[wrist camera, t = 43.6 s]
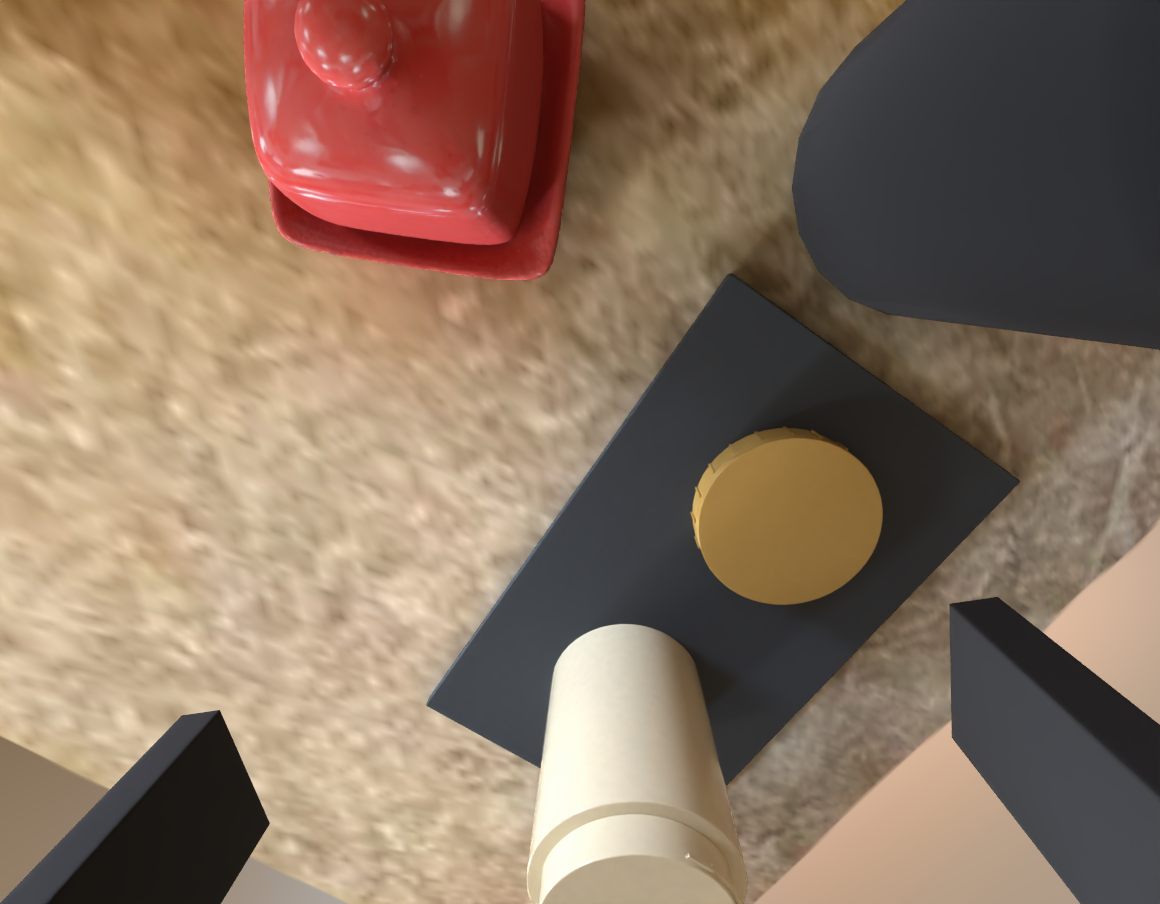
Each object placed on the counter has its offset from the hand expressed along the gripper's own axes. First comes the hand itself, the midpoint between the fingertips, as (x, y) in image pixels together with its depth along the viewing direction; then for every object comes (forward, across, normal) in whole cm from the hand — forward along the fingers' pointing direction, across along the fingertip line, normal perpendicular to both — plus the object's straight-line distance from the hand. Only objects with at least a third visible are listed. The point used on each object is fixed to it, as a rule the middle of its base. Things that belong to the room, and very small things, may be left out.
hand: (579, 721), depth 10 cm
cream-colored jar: (+16, -1, -12) cm, 20 cm away
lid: (+15, +8, -4) cm, 17 cm away
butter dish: (+17, -4, +15) cm, 23 cm away
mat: (+17, +4, -8) cm, 19 cm away
